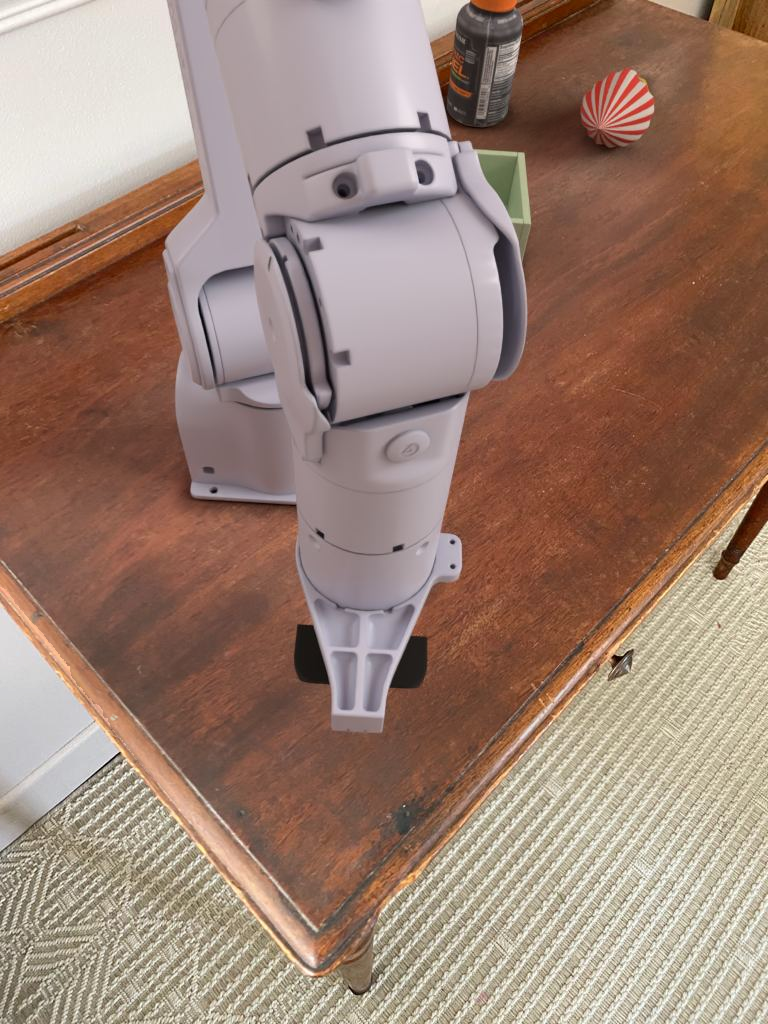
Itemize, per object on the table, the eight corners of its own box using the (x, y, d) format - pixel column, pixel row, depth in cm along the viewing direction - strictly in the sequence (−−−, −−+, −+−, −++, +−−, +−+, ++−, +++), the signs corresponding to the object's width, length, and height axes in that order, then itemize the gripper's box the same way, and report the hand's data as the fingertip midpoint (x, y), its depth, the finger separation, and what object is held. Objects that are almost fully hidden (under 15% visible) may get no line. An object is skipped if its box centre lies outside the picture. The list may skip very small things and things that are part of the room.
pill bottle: (437, 98, 78) (451, -31, 69) (493, 91, 79) (514, -36, 70) (458, 133, 75) (475, 3, 66) (516, 125, 76) (541, -4, 67)
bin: (398, 269, 64) (403, 215, 60) (401, 198, 69) (405, 144, 65) (518, 277, 64) (531, 223, 60) (512, 206, 69) (524, 152, 65)
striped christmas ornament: (639, 127, 85) (593, 183, 71) (603, 77, 84) (549, 125, 70) (690, 84, 81) (652, 135, 67) (653, 31, 79) (606, 71, 65)
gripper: (482, 679, 26) (438, 785, 38) (473, 356, 34) (438, 525, 45) (267, 666, 26) (288, 777, 37) (308, 345, 34) (315, 517, 45)
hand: (361, 638), depth 41 cm, fingers closed on wristwatch, 5 cm apart
